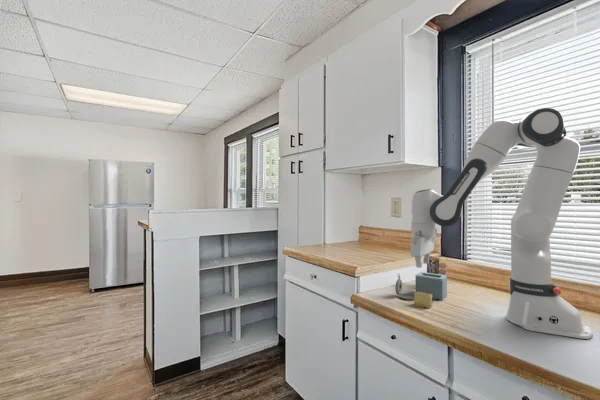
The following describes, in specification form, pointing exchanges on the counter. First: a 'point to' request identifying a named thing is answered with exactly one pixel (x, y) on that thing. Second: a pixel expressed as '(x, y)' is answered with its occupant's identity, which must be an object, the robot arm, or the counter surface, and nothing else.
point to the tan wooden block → (423, 299)
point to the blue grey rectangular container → (432, 284)
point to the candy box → (436, 265)
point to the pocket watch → (399, 289)
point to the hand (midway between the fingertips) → (422, 265)
